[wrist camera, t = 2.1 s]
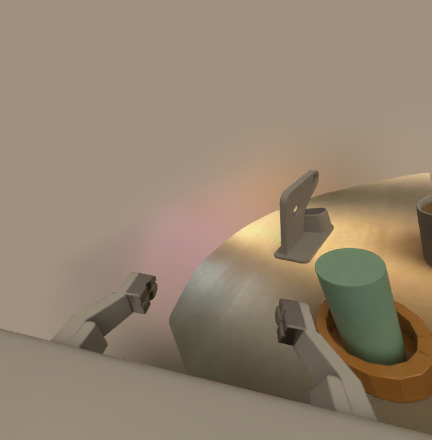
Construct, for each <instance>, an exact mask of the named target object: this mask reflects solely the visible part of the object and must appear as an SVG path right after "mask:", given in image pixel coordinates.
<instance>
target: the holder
mask: <svg viewBox="0 0 432 440" xmlns="http://www.w3.org/2000/svg"><path fill="white" fill-rule="evenodd" d="M394 304H395V308H396V312H397V317H398V321H399V325H400V330H401V334H402V338H403V342H404V347H405V351H406V361H405V362H403V363H399V364H395V365H390V366H388V365H381V364H374V363H368V362H366V361H364V360H361V359H359V358H357V357H355V356H352V355H350V354H348V352H347V351H346V349H345V348H344V346H343V343H342V341H341V338H340V335H339V332H338V330H337V327H336V324H335V322H334V319H333V316H332V314H331V311H330V308H329V305H328V303H327V300H326V301H325V302H324V303H323V304H321V306H320V308H319V310H318V313H317V315H316V323H317V331H318V333H320V334H321V335H322V336H323V338H324V339H325V340H326V341H327V342H328V343H329V345H330V346H331V347H332V348H333V349H334V350H335V352H336V353H337V354H338V355H339V356H340V357H341V358H342V360H343V361H344V362H345V363H346V364H347V365H348V367H349V368H350V369H351V370H352V371H353V372H354V374H355V375H356V376H357V377H358V378H359V379H360V381H361V382H362V385H363V387H364V389H365V391H366V392H368V393H370V394H372V395H374V396H377V397H379V398H382V399H386V400H389V401H395V402H407V403H408V402H416V401H420V400H423V399H425V398H427V397H429V396H430V395H431V394H432V334H431V332H430V331H429V329H428V328H427V326H426V325H425V323H424V322H423V321H422V319H420V318H419V317H418V316H416V315H415V314H414V313H413V312H411V311H410V310H409V309H407V308H406V307H405V306H403V305H402V304H399V303H397V302H395V301H394Z"/></svg>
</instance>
